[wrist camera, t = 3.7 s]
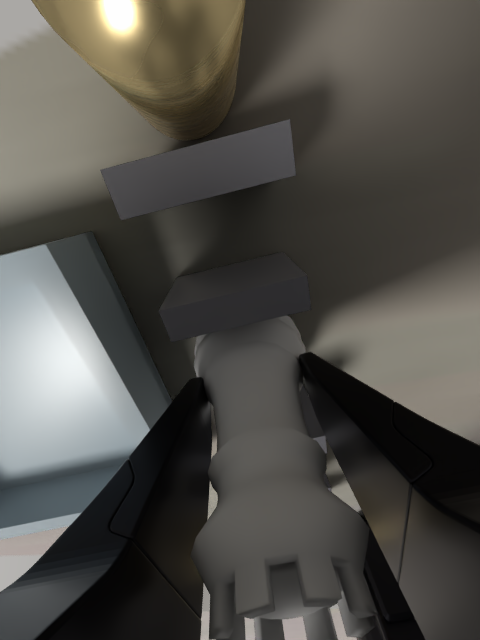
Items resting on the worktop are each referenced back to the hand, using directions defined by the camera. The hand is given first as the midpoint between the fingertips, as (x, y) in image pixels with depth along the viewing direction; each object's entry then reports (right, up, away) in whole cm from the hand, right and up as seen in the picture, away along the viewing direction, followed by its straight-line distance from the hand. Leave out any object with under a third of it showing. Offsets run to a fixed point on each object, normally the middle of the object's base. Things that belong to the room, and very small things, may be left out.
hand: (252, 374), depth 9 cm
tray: (-10, -1, +2) cm, 10 cm away
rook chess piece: (0, +1, +2) cm, 2 cm away
